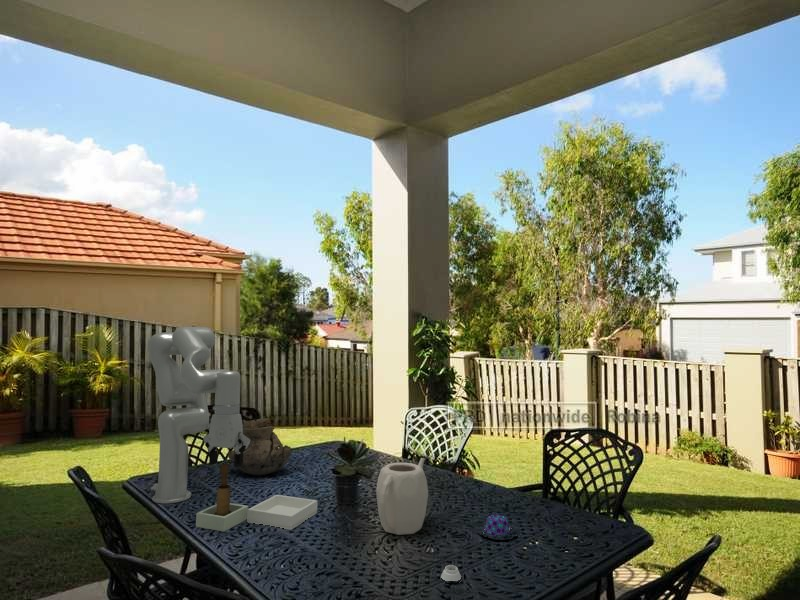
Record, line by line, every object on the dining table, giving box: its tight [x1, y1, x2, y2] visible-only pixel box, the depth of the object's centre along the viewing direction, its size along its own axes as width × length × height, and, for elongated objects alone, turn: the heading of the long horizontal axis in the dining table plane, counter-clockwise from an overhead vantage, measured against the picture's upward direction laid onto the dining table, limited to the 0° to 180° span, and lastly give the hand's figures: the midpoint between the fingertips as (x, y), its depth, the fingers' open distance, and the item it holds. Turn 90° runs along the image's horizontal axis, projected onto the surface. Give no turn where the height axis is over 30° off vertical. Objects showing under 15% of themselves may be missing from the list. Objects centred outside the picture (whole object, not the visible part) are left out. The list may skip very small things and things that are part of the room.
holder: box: [195, 502, 249, 532], centre depth 158 cm, size 10×12×4 cm
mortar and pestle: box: [213, 463, 232, 516], centre depth 158 cm, size 7×6×18 cm
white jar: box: [440, 564, 462, 581], centre depth 123 cm, size 5×3×5 cm
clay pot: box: [227, 417, 292, 476], centre depth 215 cm, size 25×24×22 cm
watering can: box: [375, 457, 429, 536], centre depth 156 cm, size 16×27×19 cm, turn 150°
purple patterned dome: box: [484, 514, 511, 535], centre depth 152 cm, size 12×12×5 cm
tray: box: [246, 494, 318, 531], centre depth 163 cm, size 16×16×4 cm
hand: (225, 465), depth 158 cm, fingers open, 9 cm apart
